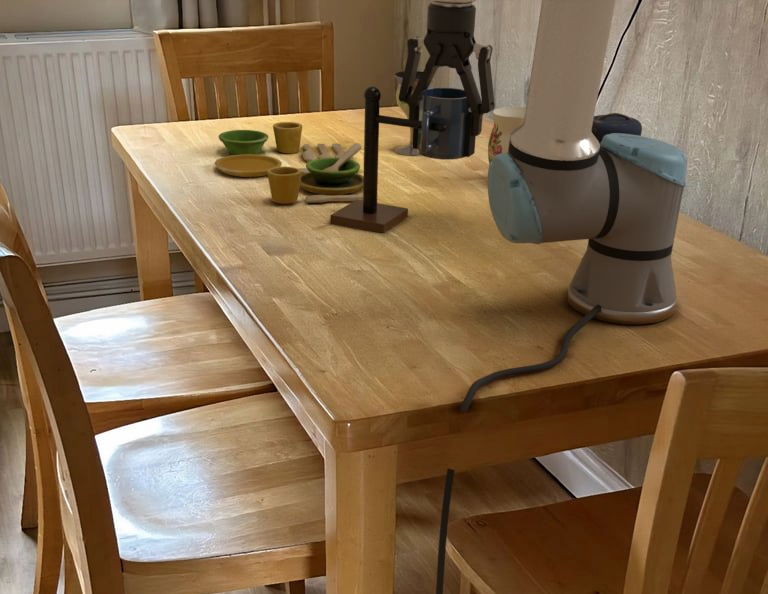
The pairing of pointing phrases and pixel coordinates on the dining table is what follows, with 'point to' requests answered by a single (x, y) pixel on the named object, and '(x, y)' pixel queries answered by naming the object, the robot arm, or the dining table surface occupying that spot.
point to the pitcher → (504, 129)
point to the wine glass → (407, 111)
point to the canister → (615, 125)
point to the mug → (445, 110)
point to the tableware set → (285, 181)
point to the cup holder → (375, 173)
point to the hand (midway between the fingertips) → (443, 150)
